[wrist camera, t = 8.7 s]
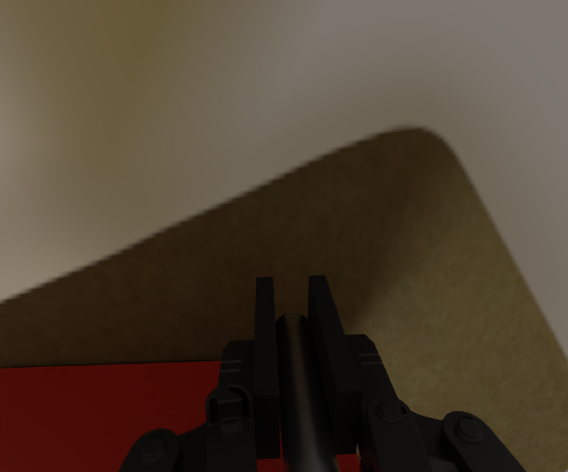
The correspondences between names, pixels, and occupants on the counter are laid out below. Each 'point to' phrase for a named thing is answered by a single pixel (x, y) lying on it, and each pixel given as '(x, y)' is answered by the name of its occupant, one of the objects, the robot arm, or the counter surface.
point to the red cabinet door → (154, 410)
